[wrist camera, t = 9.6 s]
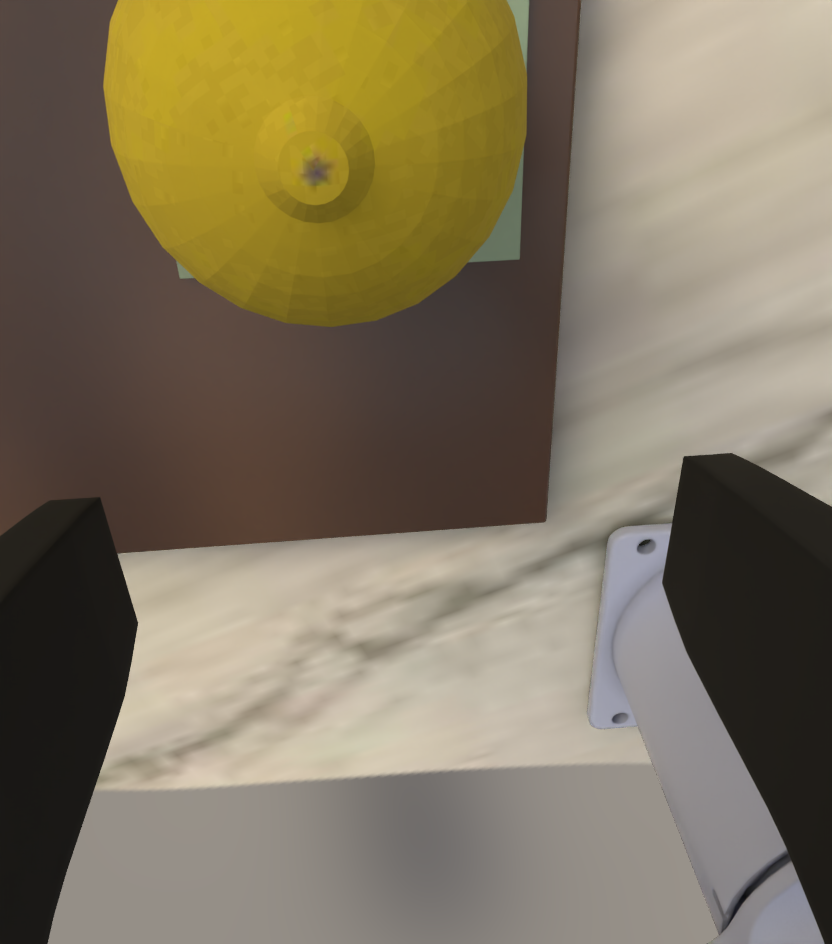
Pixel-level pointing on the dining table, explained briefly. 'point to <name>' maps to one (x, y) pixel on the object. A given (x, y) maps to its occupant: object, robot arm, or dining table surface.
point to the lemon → (318, 144)
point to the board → (260, 338)
